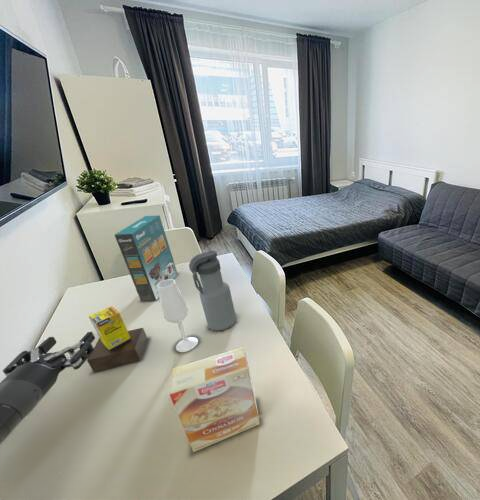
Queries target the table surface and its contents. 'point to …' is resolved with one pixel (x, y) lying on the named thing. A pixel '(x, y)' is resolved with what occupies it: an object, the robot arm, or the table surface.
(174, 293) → the champagne flute
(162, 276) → the cake mix box
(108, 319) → the supplement box
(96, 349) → the block
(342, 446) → the table surface
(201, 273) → the water bottle
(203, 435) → the coffeecake box
